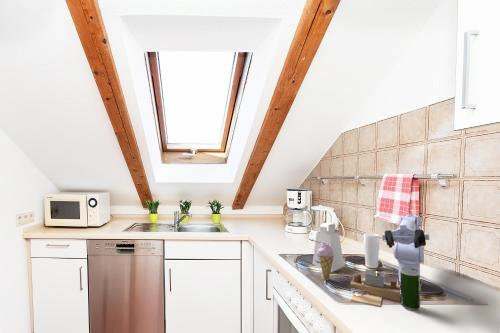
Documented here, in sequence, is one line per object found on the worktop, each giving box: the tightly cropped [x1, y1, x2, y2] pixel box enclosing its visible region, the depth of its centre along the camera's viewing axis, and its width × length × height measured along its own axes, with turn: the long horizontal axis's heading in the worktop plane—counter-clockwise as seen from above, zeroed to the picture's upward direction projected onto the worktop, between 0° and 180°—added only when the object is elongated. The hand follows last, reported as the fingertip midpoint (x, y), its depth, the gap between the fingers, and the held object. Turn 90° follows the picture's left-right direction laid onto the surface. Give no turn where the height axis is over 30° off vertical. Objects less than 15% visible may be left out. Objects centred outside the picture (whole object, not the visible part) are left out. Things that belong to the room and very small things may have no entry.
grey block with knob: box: [364, 269, 385, 288], centre depth 100 cm, size 4×6×5 cm
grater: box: [312, 222, 345, 273], centre depth 130 cm, size 10×10×20 cm
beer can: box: [400, 267, 421, 312], centre depth 89 cm, size 5×5×12 cm
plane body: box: [349, 273, 401, 302], centre depth 100 cm, size 7×16×5 cm, turn 60°
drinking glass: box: [363, 232, 380, 270], centre depth 129 cm, size 7×7×15 cm
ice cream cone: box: [317, 243, 334, 281], centre depth 113 cm, size 7×6×15 cm
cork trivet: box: [350, 295, 383, 307], centre depth 95 cm, size 7×9×1 cm
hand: (402, 244), depth 91 cm, fingers open, 7 cm apart
